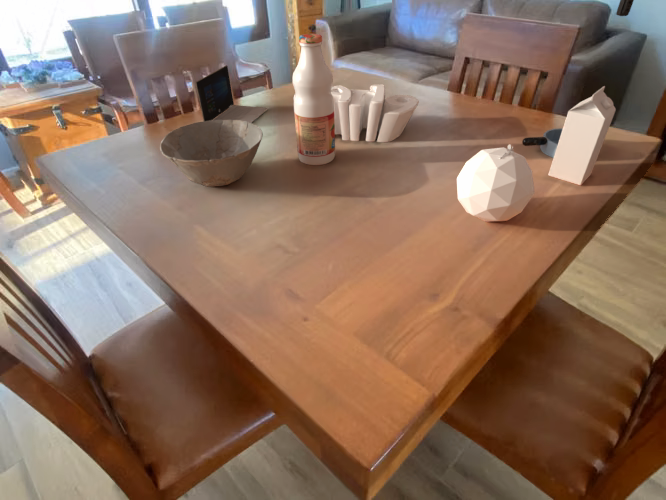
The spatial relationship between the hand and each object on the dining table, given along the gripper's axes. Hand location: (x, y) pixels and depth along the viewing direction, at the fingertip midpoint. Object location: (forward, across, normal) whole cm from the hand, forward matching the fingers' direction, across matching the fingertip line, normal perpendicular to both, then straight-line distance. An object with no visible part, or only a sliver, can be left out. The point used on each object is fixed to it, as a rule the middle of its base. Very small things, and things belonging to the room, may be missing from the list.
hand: (621, 15), depth 105 cm
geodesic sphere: (+27, -44, +44) cm, 68 cm away
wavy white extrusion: (+27, +3, +66) cm, 71 cm away
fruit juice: (+27, -14, +77) cm, 83 cm away
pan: (+27, -17, +17) cm, 37 cm away
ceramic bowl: (+27, -22, +100) cm, 106 cm away
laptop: (+27, +16, +100) cm, 105 cm away
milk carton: (+27, -30, +20) cm, 45 cm away
